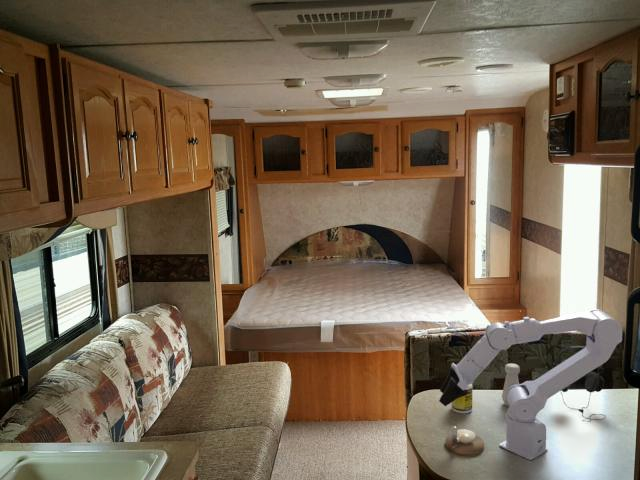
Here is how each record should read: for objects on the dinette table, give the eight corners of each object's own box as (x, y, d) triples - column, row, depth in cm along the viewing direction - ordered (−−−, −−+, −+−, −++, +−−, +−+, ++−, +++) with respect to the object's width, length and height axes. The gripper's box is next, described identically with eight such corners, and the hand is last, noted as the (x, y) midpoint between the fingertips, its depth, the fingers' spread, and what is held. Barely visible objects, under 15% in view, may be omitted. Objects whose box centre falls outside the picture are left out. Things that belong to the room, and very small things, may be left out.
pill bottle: (467, 416, 163) (467, 381, 161) (448, 411, 167) (448, 376, 165) (475, 408, 168) (475, 374, 166) (456, 403, 171) (456, 369, 170)
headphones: (558, 421, 158) (560, 355, 155) (546, 404, 169) (548, 342, 166) (613, 422, 156) (616, 355, 153) (597, 404, 167) (600, 342, 164)
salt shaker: (500, 400, 172) (500, 361, 170) (519, 400, 171) (519, 361, 170) (504, 408, 167) (504, 368, 165) (523, 409, 166) (524, 368, 164)
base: (491, 446, 145) (491, 439, 145) (467, 460, 139) (468, 452, 139) (461, 432, 153) (461, 425, 153) (437, 444, 147) (437, 437, 147)
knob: (462, 429, 150) (462, 415, 149) (479, 437, 145) (479, 422, 145) (444, 439, 145) (444, 424, 145) (461, 447, 141) (461, 432, 140)
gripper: (463, 343, 150) (431, 379, 153) (463, 359, 136) (429, 397, 139) (483, 360, 150) (451, 395, 152) (486, 377, 135) (451, 416, 138)
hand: (442, 397), depth 146 cm, fingers open, 7 cm apart
